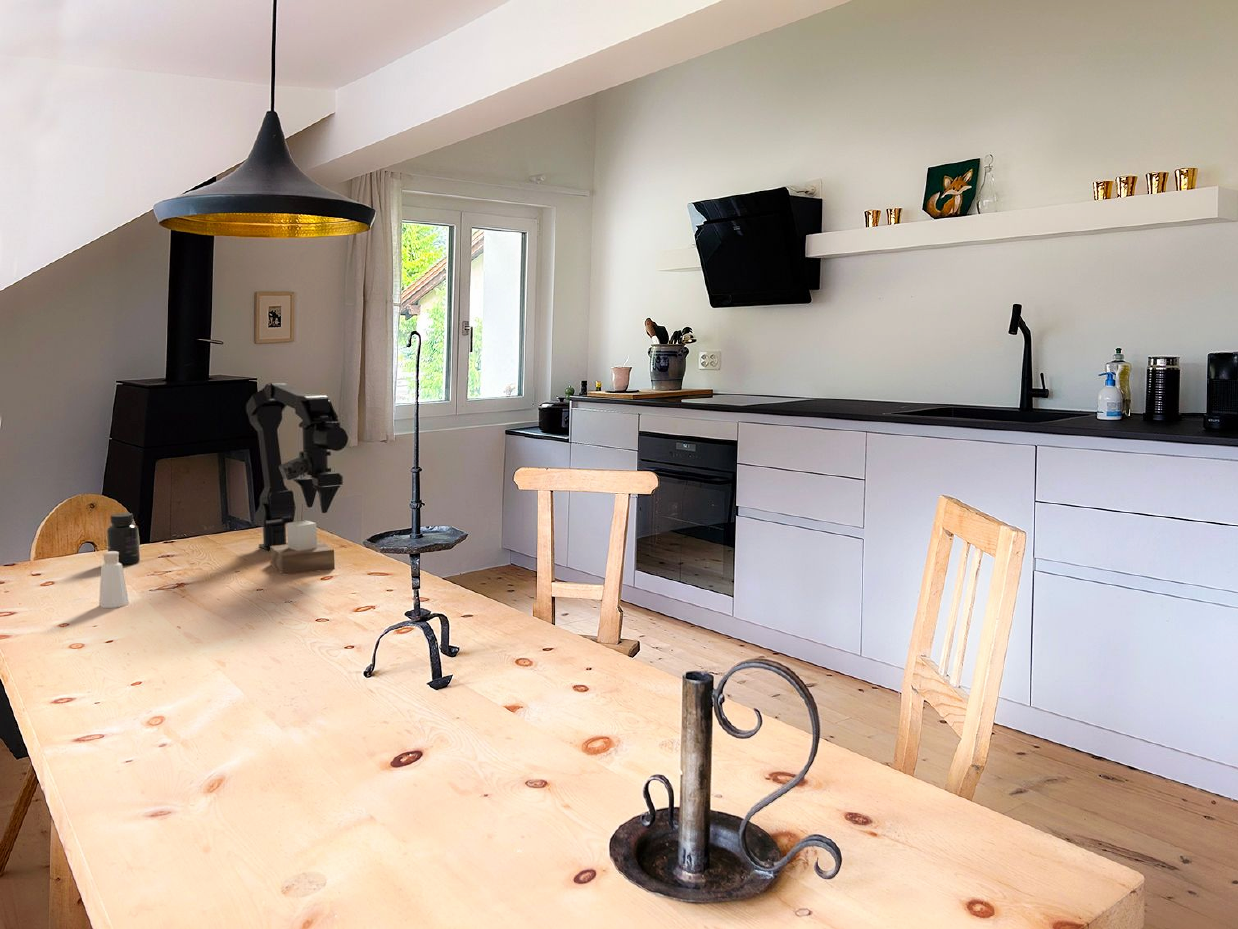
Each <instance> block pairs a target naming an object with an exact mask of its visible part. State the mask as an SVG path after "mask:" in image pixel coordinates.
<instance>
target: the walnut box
mask: <svg viewBox="0 0 1238 929" xmlns="http://www.w3.org/2000/svg"><path fill="white" fill-rule="evenodd" d="M269 554H270V566H272V565H273V566H274V567H275V568H276V569H277V570H276V569H275V568H274V567H273V566H272V567H273V568H274V569H275V570H276V571H278V573H280V574H281V575H282V574H288V575H295V574H303V572H305V573H311V571H313V572H319V571H318V570H321V571H328V570H335V549H333V548H332V547H331V546H329V545H327V544H326V543H324V542H322V541H321V540H317V548H313V549H307V550H300V551H296V550H293V549H291V548H288V544H285V545H276V546H270V550H269Z"/></svg>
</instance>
